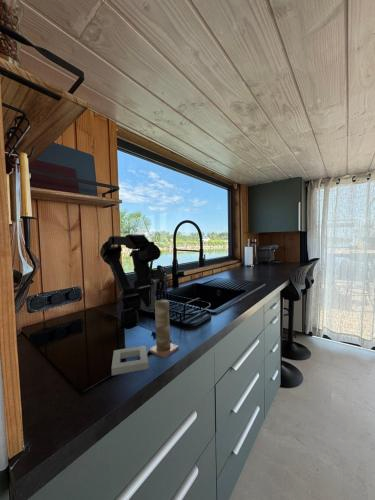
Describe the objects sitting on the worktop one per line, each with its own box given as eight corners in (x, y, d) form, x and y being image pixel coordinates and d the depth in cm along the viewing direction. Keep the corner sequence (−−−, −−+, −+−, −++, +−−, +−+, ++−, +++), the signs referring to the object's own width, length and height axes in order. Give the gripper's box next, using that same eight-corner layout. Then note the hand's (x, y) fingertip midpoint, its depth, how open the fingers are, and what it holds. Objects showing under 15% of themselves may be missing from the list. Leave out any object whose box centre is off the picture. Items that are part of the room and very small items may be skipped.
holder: (114, 356, 71) (113, 350, 71) (145, 351, 73) (145, 345, 73) (111, 375, 61) (111, 368, 61) (148, 368, 64) (148, 362, 64)
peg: (158, 352, 71) (156, 304, 70) (155, 345, 75) (153, 301, 74) (172, 349, 73) (170, 302, 72) (168, 342, 77) (166, 299, 76)
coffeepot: (137, 315, 106) (135, 278, 105) (134, 309, 115) (132, 275, 114) (168, 310, 112) (167, 275, 111) (163, 305, 121) (162, 272, 120)
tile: (148, 351, 73) (148, 349, 73) (163, 342, 79) (162, 340, 79) (164, 358, 69) (164, 355, 69) (178, 348, 75) (178, 346, 75)
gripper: (161, 258, 78) (170, 302, 76) (162, 263, 96) (169, 299, 94) (129, 264, 76) (138, 310, 74) (136, 268, 95) (143, 305, 92)
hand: (149, 305), depth 84 cm, fingers open, 9 cm apart
